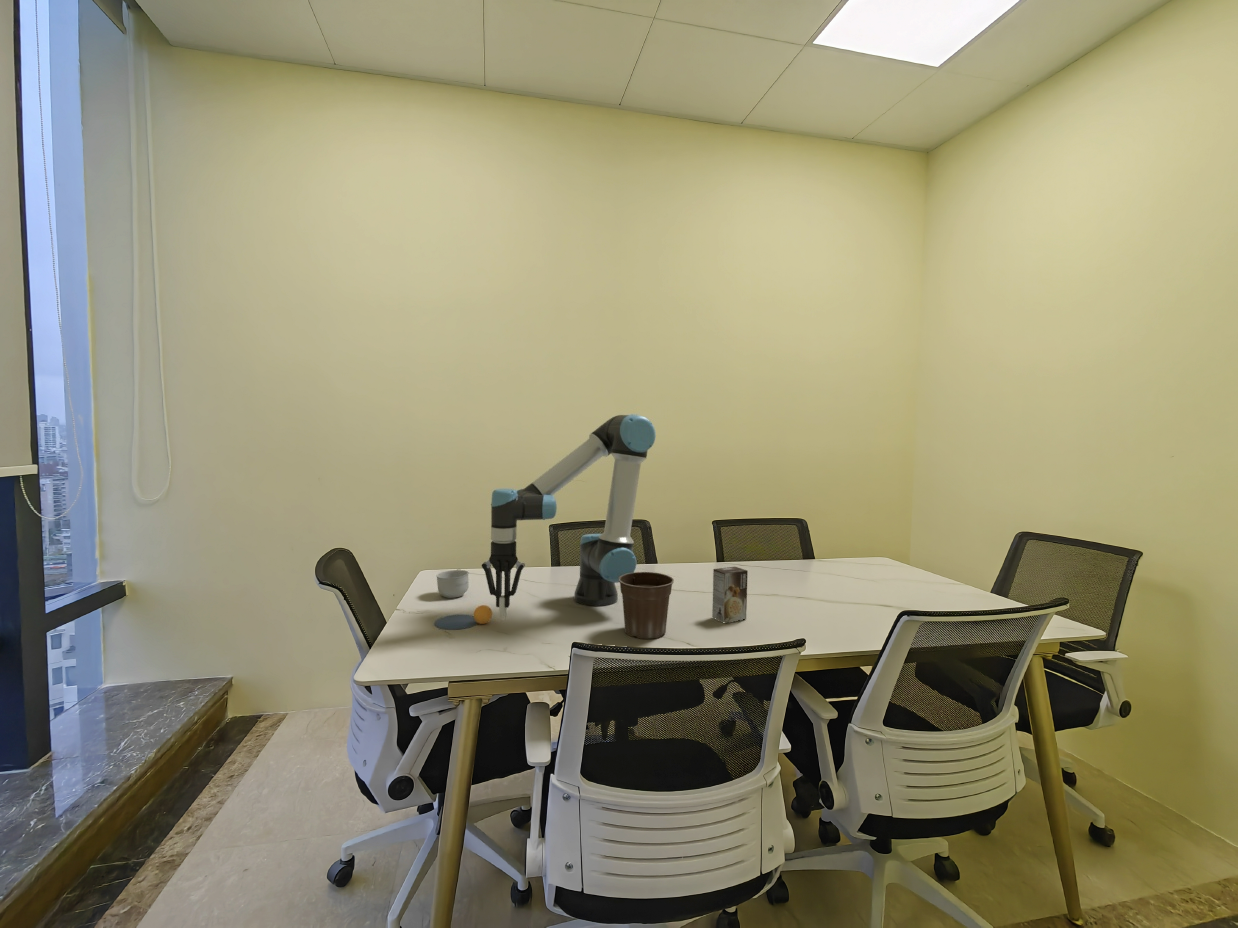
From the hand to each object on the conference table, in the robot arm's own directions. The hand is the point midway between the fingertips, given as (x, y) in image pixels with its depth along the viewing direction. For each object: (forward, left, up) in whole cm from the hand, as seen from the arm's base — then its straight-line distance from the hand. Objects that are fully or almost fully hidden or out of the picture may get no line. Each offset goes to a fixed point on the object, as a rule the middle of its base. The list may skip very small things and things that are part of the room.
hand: (502, 617), depth 174 cm
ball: (+6, 0, +1) cm, 6 cm away
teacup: (+24, -28, -2) cm, 37 cm away
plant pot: (-43, +2, -2) cm, 43 cm away
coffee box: (-70, -13, -2) cm, 71 cm away
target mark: (+14, 0, -2) cm, 14 cm away
